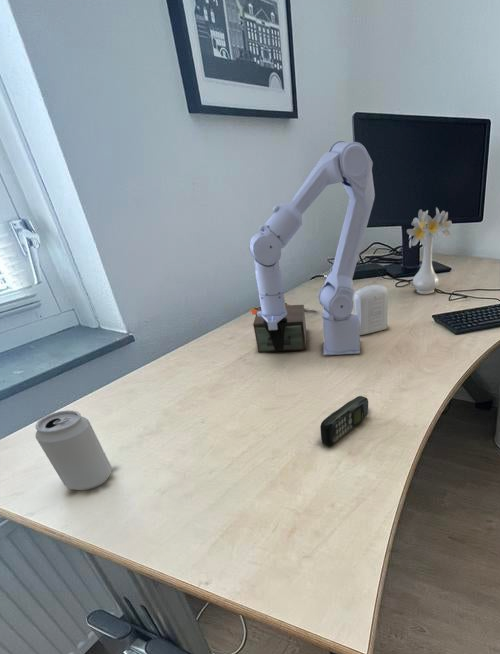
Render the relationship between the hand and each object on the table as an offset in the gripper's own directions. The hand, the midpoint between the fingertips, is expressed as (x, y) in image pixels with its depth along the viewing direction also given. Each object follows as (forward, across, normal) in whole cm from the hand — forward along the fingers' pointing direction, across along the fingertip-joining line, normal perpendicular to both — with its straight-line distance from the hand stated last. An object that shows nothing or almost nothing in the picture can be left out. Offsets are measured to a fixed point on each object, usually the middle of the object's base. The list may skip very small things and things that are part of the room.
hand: (279, 348), depth 109 cm
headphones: (+2, -31, -2) cm, 31 cm away
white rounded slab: (+3, -17, +25) cm, 30 cm away
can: (+4, +45, -30) cm, 54 cm away
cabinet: (+3, -12, 0) cm, 13 cm away
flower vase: (+2, -51, +48) cm, 70 cm away
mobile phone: (+4, +34, +15) cm, 38 cm away
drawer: (+2, -8, 0) cm, 9 cm away
